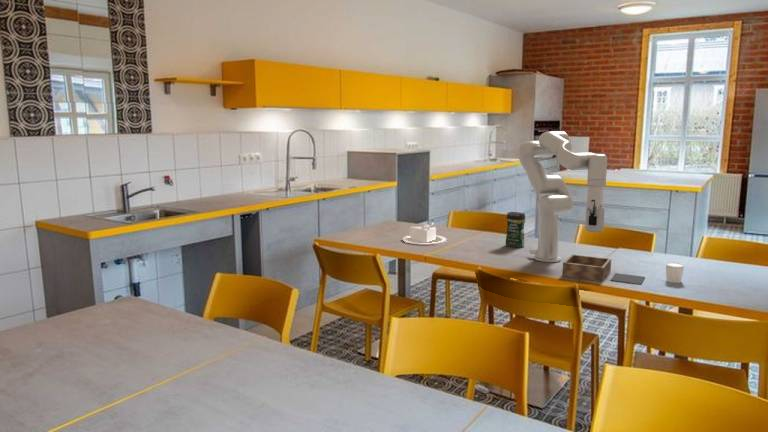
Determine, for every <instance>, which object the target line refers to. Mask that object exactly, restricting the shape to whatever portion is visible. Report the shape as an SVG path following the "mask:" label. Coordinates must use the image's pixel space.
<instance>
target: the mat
mask: <svg viewBox="0 0 768 432" xmlns="http://www.w3.org/2000/svg"><path fill="white" fill-rule="evenodd" d="M645 279H646V277H645V276H643V275H632V274H626V273H617V272H615V273H614V274H613V276H612V277H611V279H610V281H611V282H616V283H617V282H618V283H625V284H631V283H632V285H638V286H639V285H640V286H641V285H642V284H643V283H644V280H645Z"/></svg>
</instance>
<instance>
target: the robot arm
mask: <svg viewBox="0 0 768 432" xmlns="http://www.w3.org/2000/svg"><path fill="white" fill-rule="evenodd" d="M570 141H571V140H570V137H569V135H568V133H566V132H565V131H561V130H560V131H559V130H557V131H556V130H555V131H554V130H553V131H551V130H549V131H545V132H542V133H541V134H540V136H539V137H538V140H529V141H525V142H523V143H522V144H520V145H519V148H518V159H519V163H520V165H521V166H522V167H523V170H524V171H525V172H526V175H527V177H528V181H529V182H530V183H529V184H530V185H531V187H532V189H533V191H534V193H535V194H536V195H537V196H541V197H539V199H538V200H537V204H536V207H537V212H538V213H537V214H538V230H537V231H538V236H537V237H538V238H537V248H536V249H532V248H529V251H528V252H529V253H528V254H532V255H534V257H533V259H534V260H536V261H538V262H542V263H558V262H561V261H562V257H561V256H560V255H559V239H560V238H559V237H560V222H559V220H558V218H557V217H558V216H557V215H562V214H567V213H570V212H571V211H572V210H573V208H574V201H573V198H572V194H571V193H570V190H569V188H568V186H567V184H566V182H565V180H564V179H563V178H562V177H561V176H560V175H558V174H552V175H551V174H549V175H548V173H547V171H546V170H545V168H544V166H543V165H542V163H541V162H539V161H538V160H537V159H539V158H540V159H542V158H550V157H553V156H555V157H556V160H557V162H558V163H559V165H561V166H562V167H563V168H565V169H568V170H570V171H587V179H586V181H587V184H586V186H587V187H588V190H587V200H586V207H587V210H589V208H590V211H589V223H588V224H589V225H595V226H596V225H597V216H596V213H597V210H599V207H600V205H602V204H603V205H604V203H603V202H604V188H606V186H607V169H608V168H607V167H608V156H607V155H606V154H604V153H594V152H576V153H575V152H572V149H573V146H572V143H571V142H570ZM593 208H596V209H593Z"/></svg>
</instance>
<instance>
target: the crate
mask: <svg viewBox="0 0 768 432" xmlns="http://www.w3.org/2000/svg"><path fill="white" fill-rule="evenodd" d="M611 268H612V258H606V257H600V256H599V257H598V256H589V255H588V256H587V255H580V254H571V255H570V256H569V257H568V258H566V259H565V260H564V261H563V262H562V275H561V276H562V277H566V276H569V278H573V279H575V278H576V279H583V280H588V281H589V280H591V281H599V282H604V281H605V280H606V278H607V277H608V276H609V275H610V274H611V270H612V269H611Z"/></svg>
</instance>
